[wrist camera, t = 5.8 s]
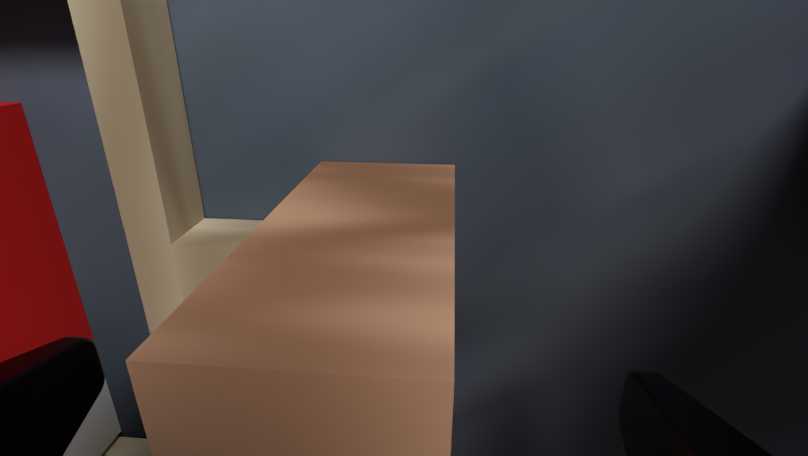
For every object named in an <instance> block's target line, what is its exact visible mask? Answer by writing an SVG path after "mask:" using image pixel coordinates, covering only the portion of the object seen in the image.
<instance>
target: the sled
mask: <svg viewBox="0 0 808 456" xmlns="http://www.w3.org/2000/svg"><path fill="white" fill-rule="evenodd" d="M67 1H68V5H69V9H70V13H71V17H72V21H73V25H74V29H75V33H76V37H77V41H78V45H79V49H80V53H81V57H82V61H83V65H84V69H85V74H86V78H87V82H88V86H89V90H90V94H91V98H92V102H93V106H94V110H95V114H96V118H97V122H98V126H99V130H100V134H101V138H102V142H103V146H104V150H105V154H106V158H107V162H108V166H109V170H110V174H111V178H112V182H113V186H114V190H115V194H116V198H117V202H118V206H119V210H120V214H121V218H122V222H123V226H124V230H125V234H126V239H127V243H128V247H129V251H130V255H131V259H132V263H133V267H134V271H135V275H136V279H137V283H138V287H139V291H140V295H141V299H142V303H143V307H144V311H145V315H146V319H147V323H148V327H149V331H150V336H149V337H148V338H147V339H146V340H145V341H144V342H143V343H142V344H141V345H140V346H139V347H138V348H137V349H136V350H135V351H134V352H133V353H132V354H131V355H130V356H129V357H128V358H127V359H126V360H125V361H126V365H127V368H128V372H129V376H130V379H131V383H132V386H133V390H134V393H135V397H136V401H137V404H138V408H139V411H140V415H141V418H142V422H143V426H144V429H145V433H146V436H147V439H143V438H131V437H119V436H117V437H116V438H115V439H114V440H113V442H112V443H111V444H110V445H109V447H108V448H107V449H106V450H105V451H104V453H103V454H102V455H101V456H451V438H452V418H453V399H454V297H455V165H442V164H403V163H364V162H326V161H321V162H320V163H319V164H318V165H317V166H316V167H315V168H314V169H313V170H312V171H311V172H310V173H309V174H308V175H307V176H306V177H305V178H304V179H303V180H302V181H301V182H300V183H299V184H298V185H297V187H296V188H295V189H294V190H293V191H292V192H291V193H290V194H289V195H288V196H287V197H286V198H285V199H284V200H283V201H282V202H281V203H280V204H279V205H278V206H277V207H276V208H275V209H274V210H273V211H272V212H271V213H270V214H269V215H268V216H267V217H266V218H265V219H264V220H236V219H210V218H205V217H204V211H203V205H202V200H201V194H200V188H199V182H198V177H197V171H196V165H195V160H194V154H193V148H192V143H191V137H190V131H189V125H188V120H187V114H186V108H185V103H184V97H183V91H182V86H181V80H180V74H179V68H178V63H177V57H176V51H175V46H174V40H173V34H172V28H171V23H170V17H169V11H168V6H167V0H67Z"/></svg>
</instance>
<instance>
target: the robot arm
mask: <svg viewBox="0 0 808 456" xmlns="http://www.w3.org/2000/svg"><path fill="white" fill-rule="evenodd" d="M104 381H105V375H104V371H103V368H102V365H101V361H100V358H99V355H98V351H97V348H96V345H95V343H94V342H93V341H92V340H91V339H89V338H85V337H64V338H61V339H58V340H56V341H53V342H50V343H48V344H45V345H43V346H40V347H38V348H35V349H33V350H30V351H28V352H25V353H23V354H20V355H18V356H15V357H13V358H10V359H8V360H5V361H3V362H0V456H63V455H64V453H65V451H66V450H67V448H68V446H69V445H70V443H71V441H72V440H73V438H74V436H75V435H76V433H77V431H78V430H79V428H80V426H81V425H82V423H83V421H84V419H85V418H86V416H87V414H88V413H89V411H90V409H91V408H92V406H93V404H94V403H95V401H96V399H97V398H98V396H99V394H100V393H101V391H102V389H103V386H104ZM618 420H619V427H620V431H621V435H622V439H623V443H624V447H625V452H626V456H773V455H771V454H770V453H768V452H767V451H766V450H764V449H763V448H762V447H760V446H759V445H757V444H756V443H755V442H753V441H752V440H751V439H749V438H748V437H746V436H745V435H744V434H742V433H741V432H739V431H738V430H737V429H735V428H734V427H733V426H731V425H730V424H728V423H727V422H726V421H724V420H723V419H721V418H720V417H719V416H717V415H716V414H715V413H713V412H712V411H710V410H709V409H708V408H706V407H705V406H703V405H702V404H701V403H699V402H698V401H697V400H695V399H694V398H692V397H691V396H690V395H688V394H687V393H686V392H684V391H683V390H681V389H680V388H679V387H677V386H676V385H674V384H673V383H672V382H670V381H669V380H668V379H666V378H665V377H663V376H662V375H660V374H659V373H656V372H648V371H631V372H630V373H628V375H627V377H626V380H625V385H624V389H623V394H622V398H621V403H620V407H619V413H618Z"/></svg>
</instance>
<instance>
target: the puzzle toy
mask: <svg viewBox="0 0 808 456" xmlns="http://www.w3.org/2000/svg"><path fill="white" fill-rule="evenodd" d="M64 337H85V338H89V339H91V340H92V341H93V342H94V340H93V337H92V333H91V330H90V327H89V323H88V320H87V317H86V314H85V310H84V307H83V304H82V301H81V297H80V294H79V291H78V288H77V284H76V281H75V278H74V274H73V271H72V268H71V265H70V261H69V258H68V255H67V252H66V248H65V245H64V242H63V239H62V235H61V232H60V229H59V225H58V222H57V219H56V216H55V212H54V209H53V206H52V203H51V199H50V196H49V193H48V190H47V186H46V183H45V180H44V176H43V173H42V170H41V167H40V163H39V160H38V157H37V154H36V150H35V147H34V144H33V141H32V137H31V134H30V131H29V127H28V124H27V121H26V118H25V114H24V111H23V108H22V105H21V103H6V102H0V362H3V361H5V360H8V359H10V358H13V357H15V356H18V355H20V354H23V353H25V352H28V351H30V350H33V349H35V348H38V347H40V346H43V345H45V344H48V343H50V342H53V341H56V340H58V339H61V338H64ZM120 432H121V428H120V425H119V421H118V418H117V415H116V412H115V408H114V405H113V402H112V399H111V395H110V392H109V389H108V386H107V382H106V379H105V381H104V386H103V389H102V391H101V393H100V394H99V396H98V398H97V399H96V401H95V403H94V404H93V406H92V408H91V409H90V411H89V413H88V414H87V416H86V418H85V419H84V421H83V423H82V425H81V426H80V428H79V430H78V431H77V433H76V435H75V436H74V438H73V440H72V441H71V443H70V445H69V446H68V448H67V450H66V451H65V453H64V455H63V456H101V455H102V454H103V453H104V451H105V450H106V449H107V448H108V447H109V445H110V444H111V443H112V442H113V440H114V439H115V438H116V437H117V436H118V434H119V433H120Z"/></svg>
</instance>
